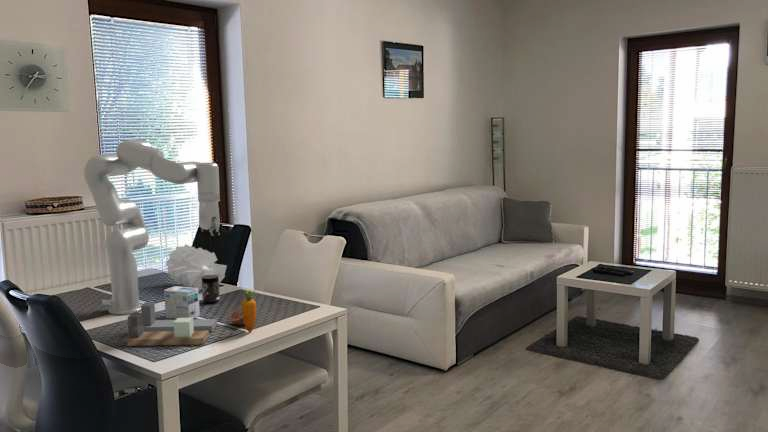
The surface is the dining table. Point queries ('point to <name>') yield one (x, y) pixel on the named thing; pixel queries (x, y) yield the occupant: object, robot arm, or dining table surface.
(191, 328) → the sage block
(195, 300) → the light bulb box
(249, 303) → the carrot
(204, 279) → the supplement container
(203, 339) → the wooden board with post
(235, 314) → the fruit slice
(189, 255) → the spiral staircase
